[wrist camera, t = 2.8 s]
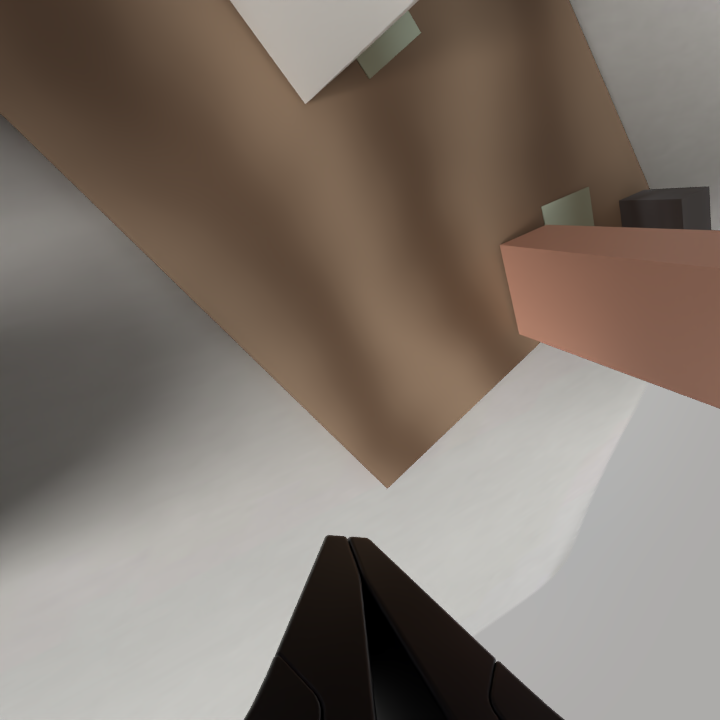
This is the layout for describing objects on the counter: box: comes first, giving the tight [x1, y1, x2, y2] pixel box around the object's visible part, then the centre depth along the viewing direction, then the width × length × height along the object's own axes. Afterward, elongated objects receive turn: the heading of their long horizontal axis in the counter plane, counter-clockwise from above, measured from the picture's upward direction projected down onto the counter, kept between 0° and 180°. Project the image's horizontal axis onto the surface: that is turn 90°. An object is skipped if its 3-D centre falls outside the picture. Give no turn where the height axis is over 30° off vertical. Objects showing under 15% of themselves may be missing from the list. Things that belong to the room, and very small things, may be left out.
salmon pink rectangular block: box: [500, 225, 720, 409], centre depth 18 cm, size 2×4×10 cm, turn 20°
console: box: [0, 0, 711, 488], centre depth 18 cm, size 19×25×4 cm
